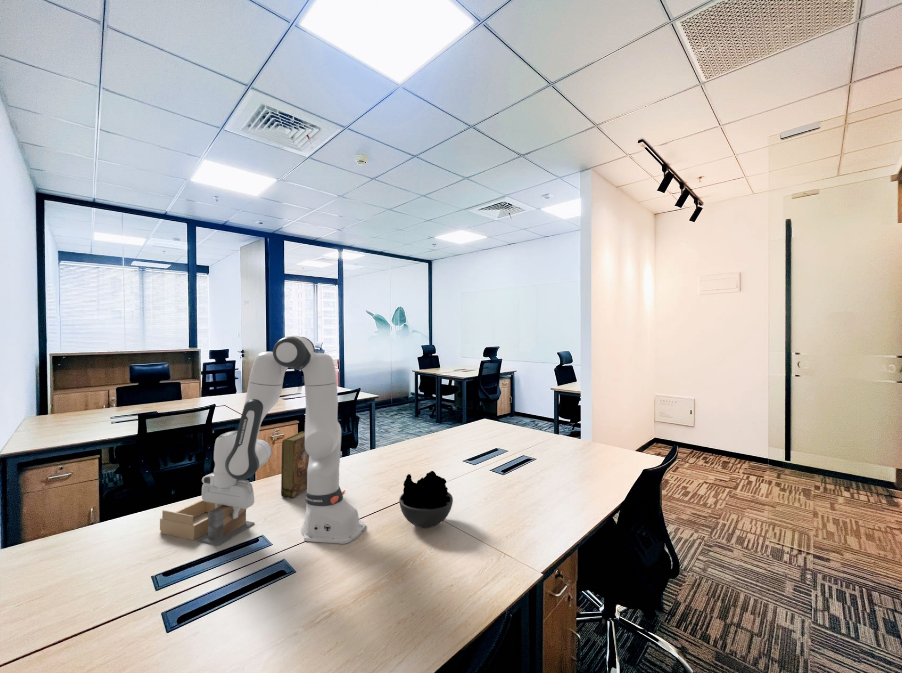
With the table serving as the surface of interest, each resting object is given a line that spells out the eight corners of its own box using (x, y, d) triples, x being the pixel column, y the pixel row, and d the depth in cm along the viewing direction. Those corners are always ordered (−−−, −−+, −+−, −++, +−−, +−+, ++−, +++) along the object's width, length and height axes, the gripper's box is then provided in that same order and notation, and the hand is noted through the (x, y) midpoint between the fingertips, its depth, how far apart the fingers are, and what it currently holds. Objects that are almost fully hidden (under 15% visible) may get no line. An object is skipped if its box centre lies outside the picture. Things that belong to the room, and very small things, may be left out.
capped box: (245, 523, 136) (246, 498, 136) (216, 540, 125) (217, 513, 125) (237, 521, 138) (237, 497, 138) (207, 538, 126) (208, 512, 126)
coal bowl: (460, 518, 144) (461, 470, 144) (437, 544, 125) (438, 489, 125) (416, 507, 152) (416, 462, 152) (388, 530, 134) (389, 479, 134)
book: (303, 483, 175) (304, 430, 175) (314, 484, 174) (314, 431, 174) (281, 498, 159) (281, 440, 159) (292, 499, 158) (293, 440, 158)
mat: (254, 524, 137) (254, 522, 137) (218, 545, 123) (218, 544, 123) (235, 520, 140) (235, 518, 140) (197, 541, 125) (197, 539, 125)
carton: (236, 517, 142) (236, 496, 142) (194, 540, 126) (194, 517, 126) (204, 510, 147) (205, 490, 147) (159, 532, 130) (160, 510, 130)
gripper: (259, 478, 131) (258, 516, 131) (214, 471, 137) (213, 508, 137) (244, 484, 125) (243, 525, 125) (198, 477, 131) (197, 516, 131)
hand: (227, 516), depth 131 cm, fingers open, 5 cm apart
